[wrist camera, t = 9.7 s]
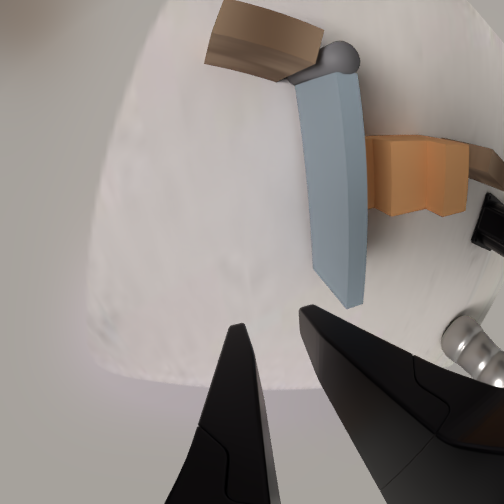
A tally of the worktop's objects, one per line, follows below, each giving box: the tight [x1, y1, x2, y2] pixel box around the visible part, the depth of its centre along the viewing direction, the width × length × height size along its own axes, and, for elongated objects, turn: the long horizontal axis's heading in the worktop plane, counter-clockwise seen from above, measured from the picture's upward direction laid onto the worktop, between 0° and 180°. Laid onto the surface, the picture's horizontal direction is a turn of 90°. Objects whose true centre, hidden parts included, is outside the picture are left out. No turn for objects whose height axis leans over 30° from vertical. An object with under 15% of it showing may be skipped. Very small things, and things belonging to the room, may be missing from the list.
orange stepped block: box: [365, 135, 469, 217], centre depth 17 cm, size 10×5×6 cm, turn 99°
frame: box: [204, 0, 504, 191], centre depth 15 cm, size 26×2×6 cm, turn 75°
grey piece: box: [287, 41, 368, 309], centre depth 16 cm, size 15×2×6 cm, turn 9°
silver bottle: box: [441, 316, 504, 388], centre depth 23 cm, size 6×7×20 cm
